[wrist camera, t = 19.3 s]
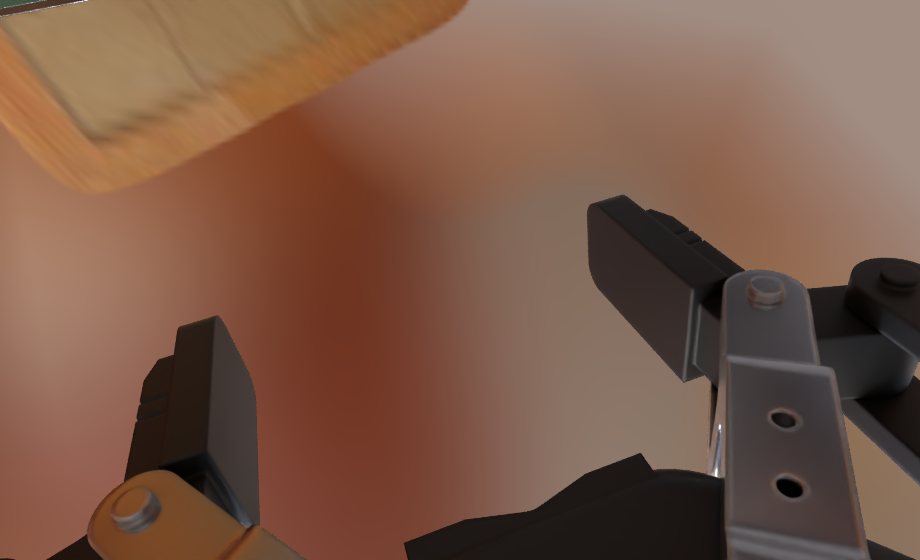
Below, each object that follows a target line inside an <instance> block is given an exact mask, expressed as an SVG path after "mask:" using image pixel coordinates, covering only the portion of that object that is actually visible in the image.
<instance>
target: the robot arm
mask: <svg viewBox="0 0 920 560" xmlns="http://www.w3.org/2000/svg"><path fill="white" fill-rule="evenodd" d="M587 225H588V226H587V227H588V256H589V257H588V258H589V268H590V272H591V276H592V278H593V280H594V283H595V284H596V286H597V288H598V289H599V290H600V291H601V292H602V293H603V295H605V297H606V298H607V299H608V300H609V301H610V302H611V303H612V304H613V306H614V307H615V308H616V309H617V310H618V311H619V312H620V313H621V314H622V315H623V316H624V318H625V319H626V320H627V321H628V322H629V323H630V324H631V325H632V326H633V328H634V329H635V330H636V331H637V332H638V333H639V334H640V335H641V336H642V337H643V339H644V340H645V341H646V342H647V343H648V344H649V345H650V346H651V347H652V348H653V350H654V351H655V352H656V353H657V354H658V355H659V356H660V357H661V358H662V359H663V361H664V362H665V363H666V364H667V365H668V366H669V367H670V368H671V369H672V370H673V371H674V373H675V374H676V375H677V376H678V377H679V378H680V379H681V380H682V381H683V382H684V383H685V382H687V381H690V380H693V379H695V378H698V377H701V376H704V375H705V376H706V377H707V378H708V379H709V380H710V381H711V384H710V391H709V414H708V415H709V416H708V442H707V469H706V474H705V473H700V472H695V471H689V470H679V469H678V470H677V469H657V470H652V468H651V467H650V465H649V464H648V463H647V461H646V460H645V458H644V457H643V455H642V454H641V453H639V454H636V455H634V456H631V457H628V458H626V459H623V460H621V461H618V462H616V463H613V464H611V465H607V466H605V467H602V468H600V469H597V470H594V471H592V472H589V473H586V474H584V475H583V476H582V477H580V478H579V479H578V480H576V481H575V482H573V483H572V484H571V485H569V486H568V487H566V488H565V489H564V490H562V491H561V492H559V493H558V494H556V495H555V496H554V497H552V498H551V499H549V500H548V501H547V502H545V503H544V504H542V505H541V506H539V507H538V508H536V509H534V510H531V511H527V512H521V513H513V514H505V515H497V516H489V517H482V518H474V519H467V520H463V521H460V522H458V523H455V524H452V525H450V526H447V527H444V528H442V529H439V530H437V531H434V532H431V533H429V534H426V535H424V536H421V537H418V538H416V539H413V540H410V541H408V542H405V543H404V546H405V550H406V553H407V558H408V560H915V559H913V558H910V557H908V556H906V555H903V554H901V553H899V552H896V551H894V550H891V549H889V548H887V547H884V546H882V545H880V544H877V543H875V542H872V541H870V540H868V539H866V535H865V530H864V524H863V519H862V514H861V509H860V503H859V498H858V493H857V487H856V481H855V476H854V471H853V465H852V460H851V455H850V449H849V444H848V439H847V433H846V428H845V423H844V417H843V414H844V415H845V416H846V417H847V418H848V419H849V420H851V421H852V422H853V423H854V424H855V425H856V426H857V427H858V428H859V429H860V430H861V431H862V432H863V433H864V434H865V435H866V436H868V437H869V438H870V439H871V440H872V441H873V442H874V443H875V444H876V445H877V446H878V447H879V448H880V449H881V450H882V451H883V452H884V453H885V454H887V455H888V456H889V457H890V458H891V459H892V460H893V461H894V462H895V463H896V464H897V465H898V466H899V467H900V468H901V469H902V470H903V471H905V472H906V473H907V474H908V475H909V476H910V477H911V478H912V479H913V480H914V481H915V482H916V483H917V484H918V485H920V380H919V379H918V378H916V377H915V376H914V372H915V370H916V367H917V365H918V363H919V362H920V264H918V263H915V262H911V261H907V260H903V259H896V258H874V259H869V260H865V261H863V262H860V263H859V264H857V265H856V266H855V267H854V268H853V270H852V272H851V276H850V279H849V283H848V285H845V286H833V287H822V288H811V289H806V288H805V287H804V286H803V284H801V283H800V282H799V281H797V280H796V279H794V278H792V277H790V276H788V275H785V274H782V273H779V272H775V271H769V270H748V271H745V270H744V269H743V268H741V267H740V266H738V265H737V264H736V263H734V262H733V261H732V260H730V259H729V258H728V257H726V256H725V255H724V254H722V253H721V252H720V251H718V250H717V249H716V248H714V247H713V246H712V245H710V244H709V243H708V242H706V241H705V240H704V241H702V239H701V237H700V236H698V235H697V234H695V233H694V232H693V231H689V228H687V227H686V226H685V225H683V224H682V223H681V222H679V221H678V220H677V219H675V218H674V217H672V216H669V215H666V214H664V213H661V212H658V211H655V210H652V209H649V210H646V211H645V210H644V209H642V208H641V207H640V206H638V205H637V204H636V203H635V202H633V201H632V200H631V199H629V198H628V197H627V196H625V195H619V196H616V197H612V198H609V199H606V200H603V201H599V202H596V203H593V204H591V205H590V206H589V207H588V211H587ZM140 403H141V405H139V408H138V413H137V422H136V423H135V428H134V433H133V438H132V443H131V448H130V453H129V458H128V463H127V468H126V473H125V478H124V482H123V483H122V484H120V485H119V486H118V487H116V488H115V489H114V490H113V491H111V492H110V493H109V494H108V495H107V496H106V497H105V498H104V499H103V500H102V501H101V503H100V504H99V505H98V507H97V508H96V509H95V511H94V513H93V515H92V517H91V519H90V521H89V524H88V529H87V534H86V535H85V536H84V537H82V538H81V539H79V540H78V541H76V542H75V543H73V544H71V545H70V546H68V547H67V548H65V549H63V550H62V551H60V552H58V553H57V554H55V555H53V556H52V557H50V558H48V559H47V560H306V559H305V558H304V557H302V556H301V555H300V554H298V553H297V552H296V551H294V550H293V549H292V548H290V547H288V545H286V544H285V543H284V542H282V541H281V540H279V539H278V538H277V537H275V536H274V535H273V534H271V533H270V532H269V531H267V530H266V529H264V528H262V527H261V526H260V512H259V483H258V482H259V481H258V451H257V417H256V396H255V390H254V386H253V383H252V380H251V377H250V374H249V372H248V370H247V368H246V366H245V364H244V362H243V360H242V358H241V356H240V354H239V352H238V350H237V348H236V346H235V344H234V342H233V340H232V338H231V336H230V334H229V332H228V330H227V328H226V326H225V324H224V322H223V321H222V319H221V318H220V317H219V316H213V317H210V318H207V319H203V320H200V321H197V322H194V323H191V324H187V325H184V326H180V327H179V328H178V330H177V336H176V343H175V350H174V355H171V356H168V357H165V358H162V359H159V360H158V361H157V362H156V364H155V365H154V367H153V368H152V370H151V371H150V373H149V374H148V375H147V377H146V378H145V380H144V382H143V387H142V393H141V397H140ZM0 560H14V559H8V558H6V559H0Z"/></svg>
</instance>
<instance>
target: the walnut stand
mask: <svg viewBox="0 0 920 560" xmlns="http://www.w3.org/2000/svg"><path fill="white" fill-rule="evenodd" d="M84 1H89V0H0V17H5V16H11V15H16V14H21V13H26V12H32V11H37V10H42V9H47V8H53V7H58V6H63V5H68V4H74V3H79V2H84Z"/></svg>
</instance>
